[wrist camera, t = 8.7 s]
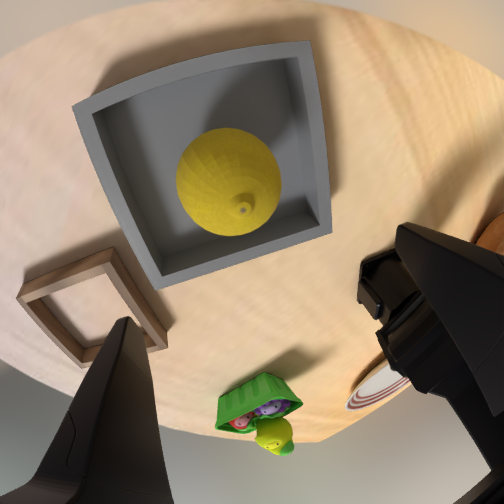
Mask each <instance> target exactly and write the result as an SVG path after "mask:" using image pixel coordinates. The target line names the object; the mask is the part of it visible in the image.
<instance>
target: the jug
mask: <svg viewBox="0 0 504 504" xmlns="http://www.w3.org/2000/svg"><path fill="white" fill-rule="evenodd" d="M475 245H478V246H480V247H483V248H486V249H488V250H491V251H493V252H494V253H495V252H496V253H498V254H501V255H503V256H504V213H502V214H501V215H499V216H498V217H496V218H495V219H494V220H493V221H492V222H491V223H490V224H489V225H488V226H487V227H486V229H485V230H484V232H483V233H482V235H481V236H480V238H479V239H478V241H477V243H476V244H475Z"/></svg>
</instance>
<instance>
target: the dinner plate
mask: <svg viewBox="0 0 504 504" xmlns="http://www.w3.org/2000/svg"><path fill="white" fill-rule="evenodd" d="M409 382H411V381H410V380H409V378H408V377H407V378H404V377H403V376H401V375H400V374H399V373H398V372H396V371H392V370H391V369H390V366H389V362H388V360H387V358H385V359H384V360H383V361H382V362H380V363H379V364H378V365H377V366H376V367H375V368H374V369H372V370H371V371H370V372H369V373H368V374H367V375H366V377H365V378H364V379H363V380H362V381H361V382H360V384H359V385H358V386H357V387H356V388H355V389H354V391H353V392H352V393H351V395H350V396H349V398H348V400H347V401H346V404H345V409H346V410H348V411H355V410H360V409H363V408H366V407H368V406H371V405H373V404H375V403H377V402H379V401H381V400H383V399H385V398H387V397H389V396H390V395H392V394H394V393H395V392H397V391H398V390H400V389H401V388H403V387H404V386H405V385H407V384H408V383H409Z"/></svg>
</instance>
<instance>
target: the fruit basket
mask: <svg viewBox="0 0 504 504" xmlns="http://www.w3.org/2000/svg"><path fill="white" fill-rule="evenodd" d="M302 405H303V402H302V401H301V400H300V399H299V398H297V396H296V395H295V394H294V393H293V392H292V390H291V389H290V388H289V387H288V385H287V384H286V383H285V382H284V380H282V379H279V378H278V377H275V376H273V375H269V374H268V373H266V372H263V373H262V374H260V375H258V376H257V377H256V378H255V379H252V380H250V381H248V382H247V383H245V384H243V385H242V386H241V387H238V388H236V389H234V390H233V391H231V392H230V393H229V394H226V395H224V396H222V397H220V398H219V399H218V410H217V421H216V424H215V429H217V430H222V431H227V432H234V433H240V434H246V433H250V432H252V431H254V430H257V437H256V438H255V440H256V442H257V443H258V444H259V445H260V446H261V447H263V448H265V449H267V450H269V451H270V452H272V453H273V454H276V455H281V456H285V455H288V454H290V453H292V451H293V450H294V444H293V441H292V435H293V431H292V427H291V425H290V423H289V422H288V421H287V420H286V419H284V418H283V417H284V416H286V415H287V414H289V413H291V412H293V411H294V410H296V409H298V408H299V407H301V406H302Z"/></svg>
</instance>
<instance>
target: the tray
mask: <svg viewBox="0 0 504 504" xmlns="http://www.w3.org/2000/svg"><path fill="white" fill-rule="evenodd" d="M72 109H73V112H74V115H75V118H76V121H77V124H78V126H79V129H80V132H81V135H82V138H83V140H84V143H85V146H86V148H87V151H88V154H89V156H90V159H91V161H92V164H93V166H94V169H95V171H96V173H97V176H98V178H99V180H100V183H101V185H102V187H103V190H104V192H105V194H106V196H107V199H108V201H109V203H110V205H111V207H112V209H113V212H114V214H115V216H116V218H117V220H118V222H119V224H120V226H121V228H122V230H123V232H124V234H125V236H126V238H127V240H128V242H129V244H130V246H131V248H132V250H133V252H134V254H135V255H136V257H137V259H138V261H139V263H140V265H141V267H142V268H143V270H144V272H145V274H146V276H147V277H148V279H149V281H150V283H151V284H152V286H153V288H154V290H155V291H156V290H159V289H162V288H165V287H168V286H171V285H174V284H177V283H181V282H184V281H187V280H190V279H193V278H196V277H199V276H202V275H205V274H208V273H211V272H214V271H218V270H221V269H224V268H227V267H230V266H233V265H236V264H239V263H242V262H245V261H248V260H251V259H254V258H257V257H260V256H263V255H266V254H269V253H272V252H275V251H279V250H282V249H285V248H288V247H291V246H294V245H297V244H300V243H303V242H306V241H309V240H312V239H315V238H318V237H321V236H324V235H327V234H330V233H332V214H331V197H330V183H329V170H328V159H327V149H326V140H325V131H324V123H323V115H322V108H321V101H320V94H319V87H318V81H317V75H316V69H315V64H314V58H313V53H312V48H311V43H310V41H295V42H283V43H273V44H265V45H258V46H251V47H245V48H239V49H234V50H228V51H223V52H219V53H214V54H210V55H205V56H201V57H197V58H193V59H190V60H186V61H182V62H179V63H176V64H172V65H169V66H166V67H163V68H160V69H157V70H154V71H151V72H148V73H145V74H142V75H140V76H137V77H134V78H132V79H129V80H127V81H124V82H122V83H119V84H117V85H115V86H112V87H110V88H108V89H106V90H103V91H101V92H99V93H97V94H95V95H93V96H91V97H89V98H87V99H85V100H83V101H81V102H79V103H77V104H75V105H73V106H72ZM220 128H235V129H240V130H243V131H246V132H248V133H251V134H253V135H254V136H256V137H257V138H258V139H260V140H261V141H262V142H264V143H265V144H266V146H267V147H268V148H269V150H270V151H271V152H272V154H273V155H274V157H275V159H276V161H277V164H278V167H279V169H280V173H281V182H282V189H281V195H280V200H279V203H278V205H277V207H276V210H275V211H274V212H273V214H272V215H271V216H270V218H269V219H268V220H267V221H266V222H265V223H264V224H263V225H262V226H260V227H259V228H257V229H255V230H253V231H252V232H249V233H246V234H243V235H236V236H224V235H218V234H215V233H212V232H210V231H207V230H205V229H204V228H202V227H201V226H199V225H198V224H197V223H195V222H194V221H193V219H192V218H191V217H190V216H189V215H188V213H187V212H186V211H185V210H184V208H183V206H182V203H181V201H180V199H179V196H178V193H177V186H176V172H177V165H178V163H179V160H180V158H181V156H182V154H183V152H184V150H185V149H186V148H187V147H188V145H189V144H190V143H191V142H192V141H193V140H194V139H196V138H197V137H198V136H200V135H201V134H203V133H206V132H208V131H210V130H213V129H220Z"/></svg>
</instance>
